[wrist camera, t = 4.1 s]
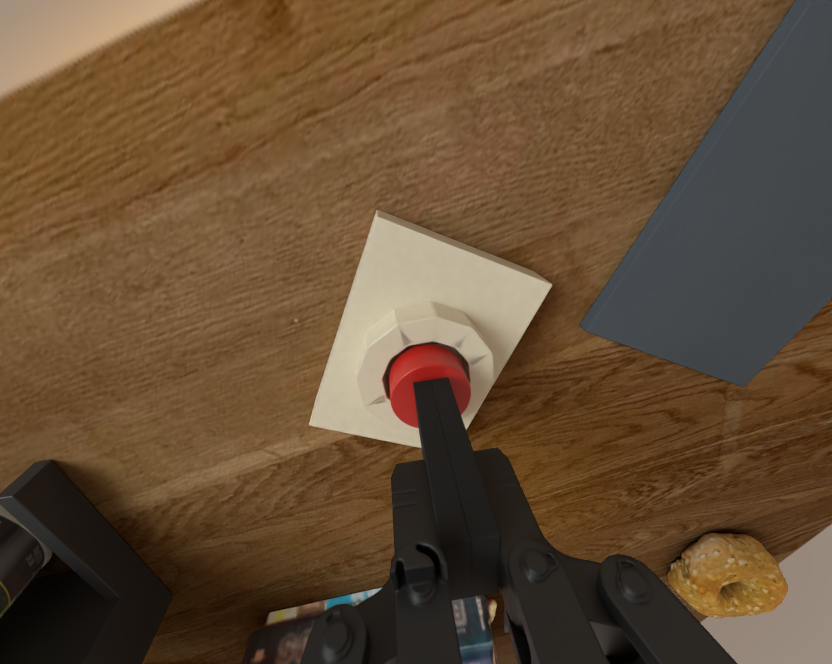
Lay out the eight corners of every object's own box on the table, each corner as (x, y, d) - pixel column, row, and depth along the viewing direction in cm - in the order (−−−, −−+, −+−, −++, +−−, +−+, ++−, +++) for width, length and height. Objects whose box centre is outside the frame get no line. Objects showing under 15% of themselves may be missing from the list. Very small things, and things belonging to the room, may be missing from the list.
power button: (404, 334, 15) (408, 355, 13) (474, 355, 16) (485, 376, 14) (378, 395, 16) (379, 420, 15) (444, 411, 17) (451, 436, 16)
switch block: (376, 209, 16) (377, 223, 12) (533, 271, 18) (572, 298, 14) (315, 400, 20) (302, 450, 17) (445, 429, 23) (458, 478, 19)
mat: (840, -68, 13) (868, -82, 12) (1003, 99, 16) (1032, 97, 16) (578, 325, 20) (586, 331, 19) (732, 380, 24) (743, 387, 23)
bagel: (749, 511, 32) (805, 564, 28) (754, 558, 37) (802, 608, 33) (652, 551, 34) (691, 606, 30) (669, 590, 39) (705, 643, 35)
